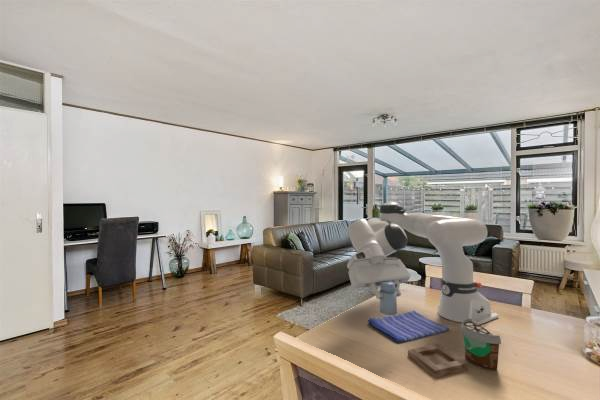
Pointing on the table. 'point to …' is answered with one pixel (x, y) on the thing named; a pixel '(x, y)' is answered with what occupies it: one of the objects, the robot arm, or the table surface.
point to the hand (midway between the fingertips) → (389, 297)
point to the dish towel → (406, 326)
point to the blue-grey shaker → (388, 298)
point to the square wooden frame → (437, 360)
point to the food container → (480, 345)
